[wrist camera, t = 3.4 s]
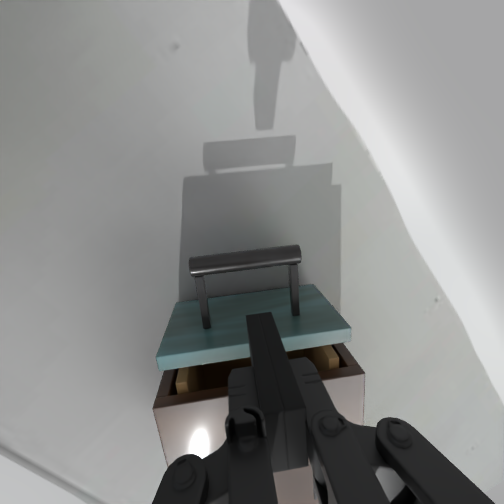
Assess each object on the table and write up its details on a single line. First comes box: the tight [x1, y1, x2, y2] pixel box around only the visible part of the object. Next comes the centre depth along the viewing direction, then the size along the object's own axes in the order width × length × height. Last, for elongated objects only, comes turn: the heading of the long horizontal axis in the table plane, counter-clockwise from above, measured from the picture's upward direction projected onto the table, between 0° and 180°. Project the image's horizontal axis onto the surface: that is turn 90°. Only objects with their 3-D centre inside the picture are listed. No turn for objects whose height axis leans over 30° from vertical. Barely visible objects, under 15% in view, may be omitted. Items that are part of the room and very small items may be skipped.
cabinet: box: [153, 343, 365, 504], centre depth 24 cm, size 15×15×10 cm
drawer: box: [156, 245, 351, 394], centre depth 22 cm, size 19×14×8 cm
